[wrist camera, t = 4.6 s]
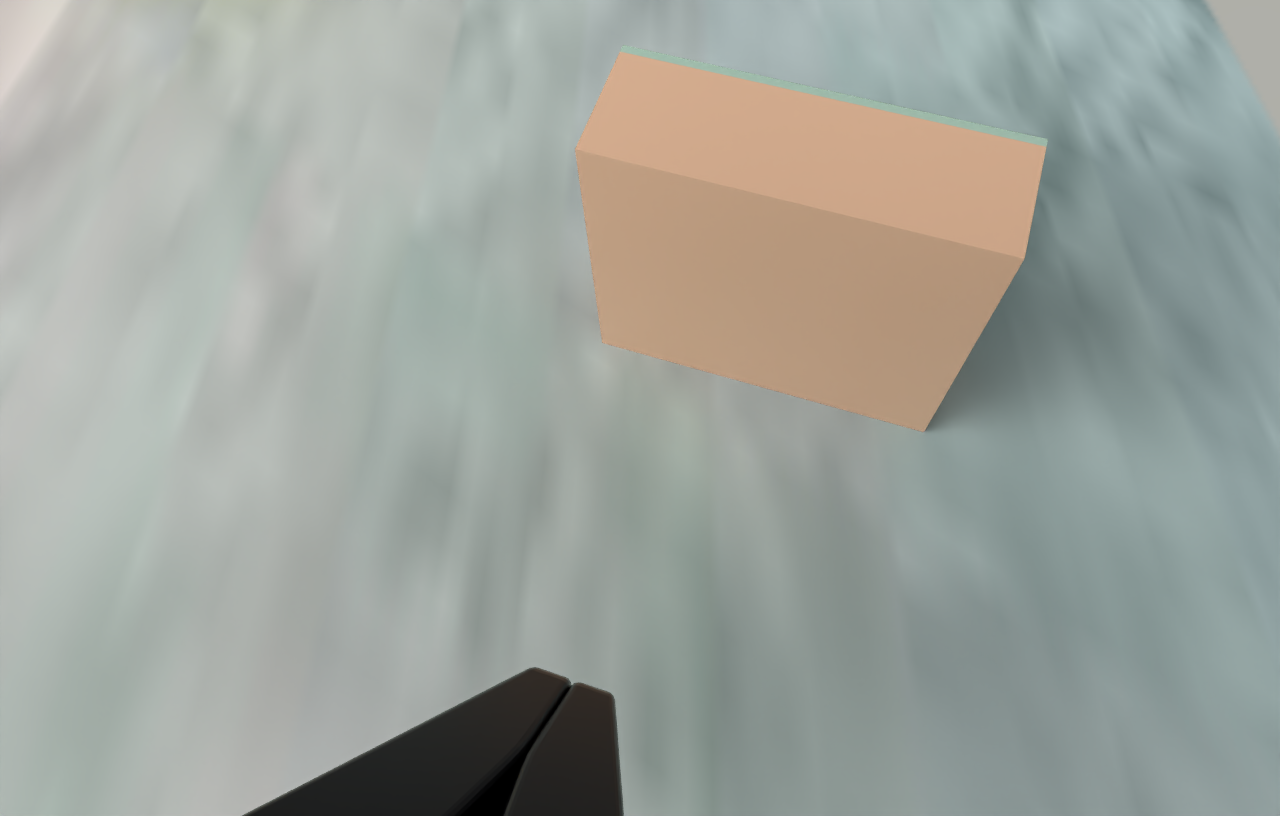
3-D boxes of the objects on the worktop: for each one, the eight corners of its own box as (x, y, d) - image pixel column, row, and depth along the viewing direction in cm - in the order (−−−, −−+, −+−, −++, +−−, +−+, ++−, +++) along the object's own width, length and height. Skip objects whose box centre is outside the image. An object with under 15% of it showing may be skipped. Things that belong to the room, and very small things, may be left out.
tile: (923, 432, 25) (1024, 258, 18) (602, 343, 26) (575, 149, 19) (945, 338, 26) (1047, 139, 19) (636, 257, 28) (623, 44, 20)
